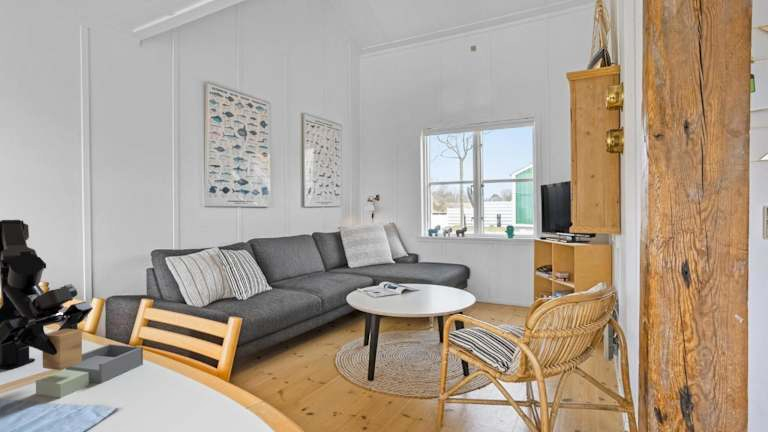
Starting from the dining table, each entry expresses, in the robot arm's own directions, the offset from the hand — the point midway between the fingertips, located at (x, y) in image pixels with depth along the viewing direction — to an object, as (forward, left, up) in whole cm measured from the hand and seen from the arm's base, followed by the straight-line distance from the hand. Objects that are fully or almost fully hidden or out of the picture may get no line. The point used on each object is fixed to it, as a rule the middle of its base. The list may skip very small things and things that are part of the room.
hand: (67, 349), depth 92 cm
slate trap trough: (-1, +11, -9) cm, 14 cm away
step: (-1, 0, -9) cm, 9 cm away
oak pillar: (-1, 0, -4) cm, 4 cm away
